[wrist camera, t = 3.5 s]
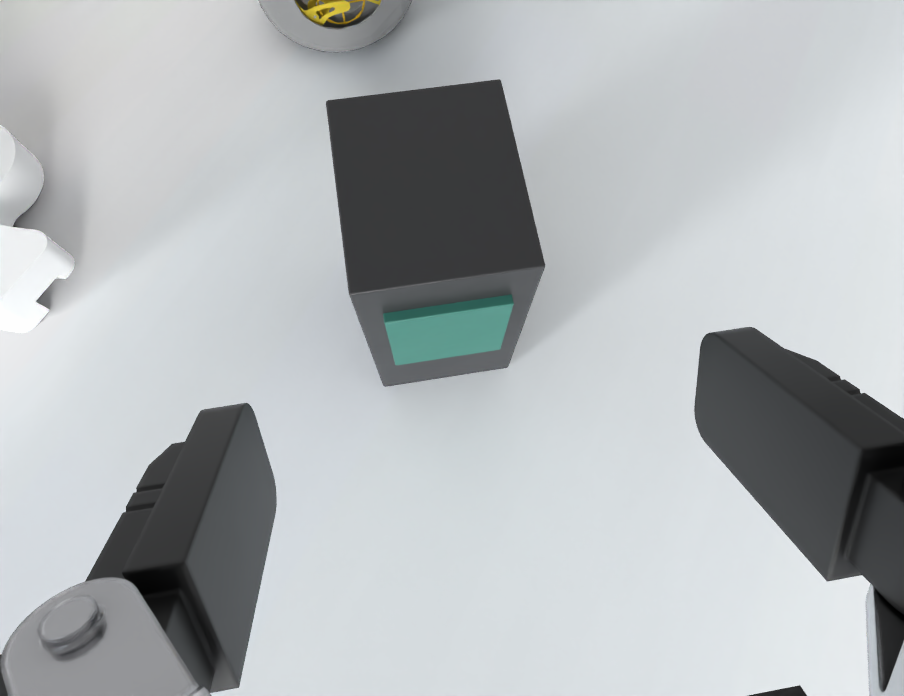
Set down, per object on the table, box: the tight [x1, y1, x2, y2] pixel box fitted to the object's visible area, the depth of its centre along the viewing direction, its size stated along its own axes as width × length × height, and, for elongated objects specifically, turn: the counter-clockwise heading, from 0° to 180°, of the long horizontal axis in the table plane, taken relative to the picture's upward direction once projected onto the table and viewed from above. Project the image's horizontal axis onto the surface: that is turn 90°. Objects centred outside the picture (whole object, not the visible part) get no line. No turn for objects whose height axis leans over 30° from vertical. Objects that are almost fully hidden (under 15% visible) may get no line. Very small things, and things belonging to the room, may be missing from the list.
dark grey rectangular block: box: [326, 80, 545, 386], centre depth 20 cm, size 6×5×9 cm
